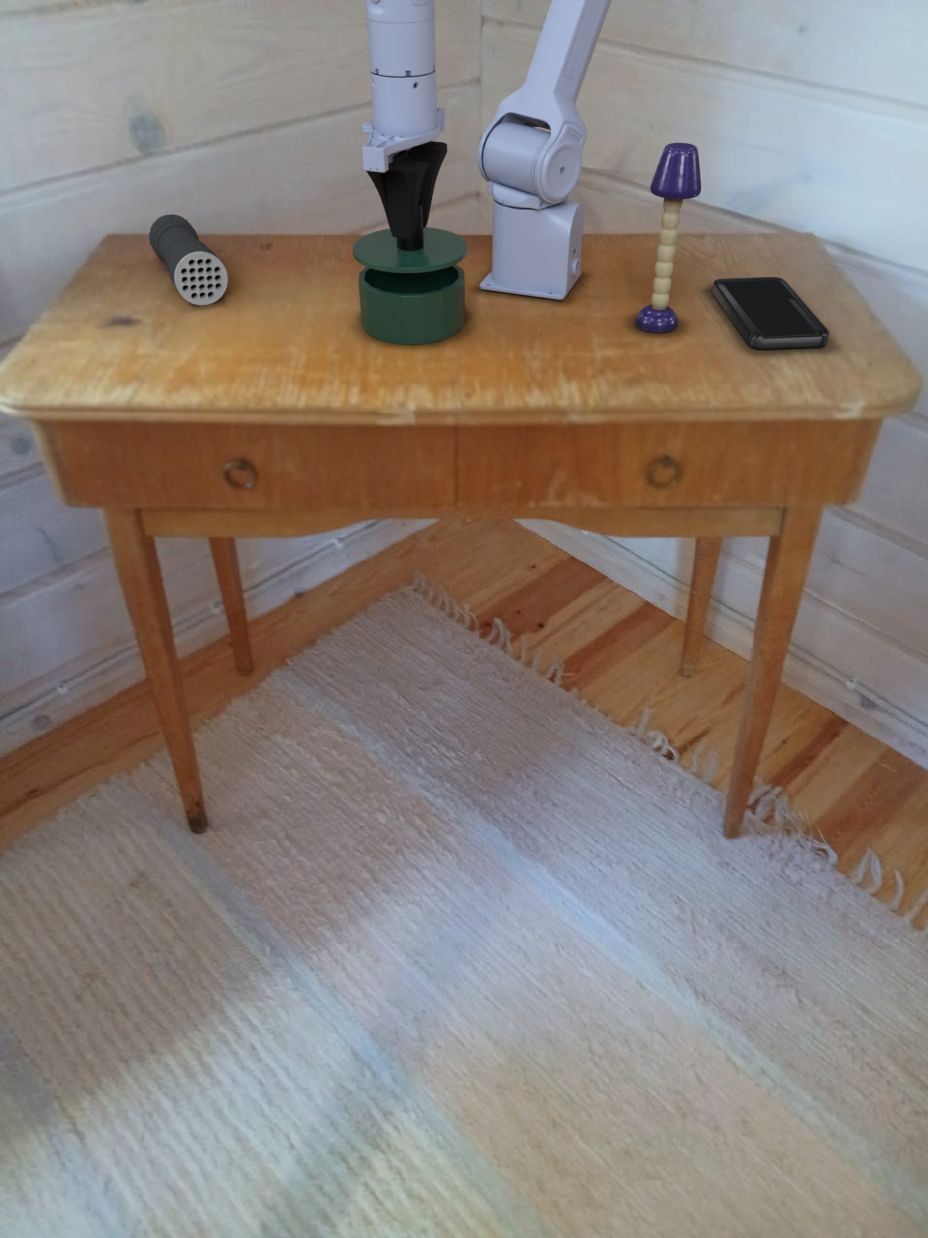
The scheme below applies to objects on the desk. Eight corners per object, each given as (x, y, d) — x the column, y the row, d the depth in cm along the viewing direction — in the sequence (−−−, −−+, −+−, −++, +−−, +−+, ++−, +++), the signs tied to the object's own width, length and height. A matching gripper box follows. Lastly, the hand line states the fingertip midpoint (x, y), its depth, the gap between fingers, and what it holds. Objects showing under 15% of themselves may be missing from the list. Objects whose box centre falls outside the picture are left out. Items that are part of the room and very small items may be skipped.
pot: (478, 309, 99) (478, 262, 96) (443, 351, 92) (442, 301, 89) (387, 296, 102) (384, 250, 99) (345, 335, 95) (341, 287, 92)
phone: (753, 339, 91) (711, 278, 102) (751, 350, 92) (709, 288, 103) (834, 335, 91) (783, 276, 103) (831, 346, 92) (781, 286, 103)
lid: (483, 244, 95) (484, 191, 92) (444, 286, 87) (443, 229, 84) (381, 232, 98) (378, 179, 95) (333, 271, 90) (328, 215, 87)
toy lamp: (629, 314, 98) (649, 139, 87) (673, 312, 99) (699, 137, 88) (640, 334, 95) (663, 154, 84) (686, 332, 95) (714, 152, 84)
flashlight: (151, 261, 110) (140, 212, 107) (197, 253, 112) (188, 205, 109) (181, 309, 100) (170, 257, 96) (231, 300, 101) (223, 248, 98)
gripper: (393, 50, 88) (400, 203, 97) (324, 85, 78) (339, 252, 87) (464, 55, 87) (465, 210, 96) (403, 91, 76) (410, 261, 85)
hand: (409, 231), depth 91 cm, fingers closed on lid, 2 cm apart
